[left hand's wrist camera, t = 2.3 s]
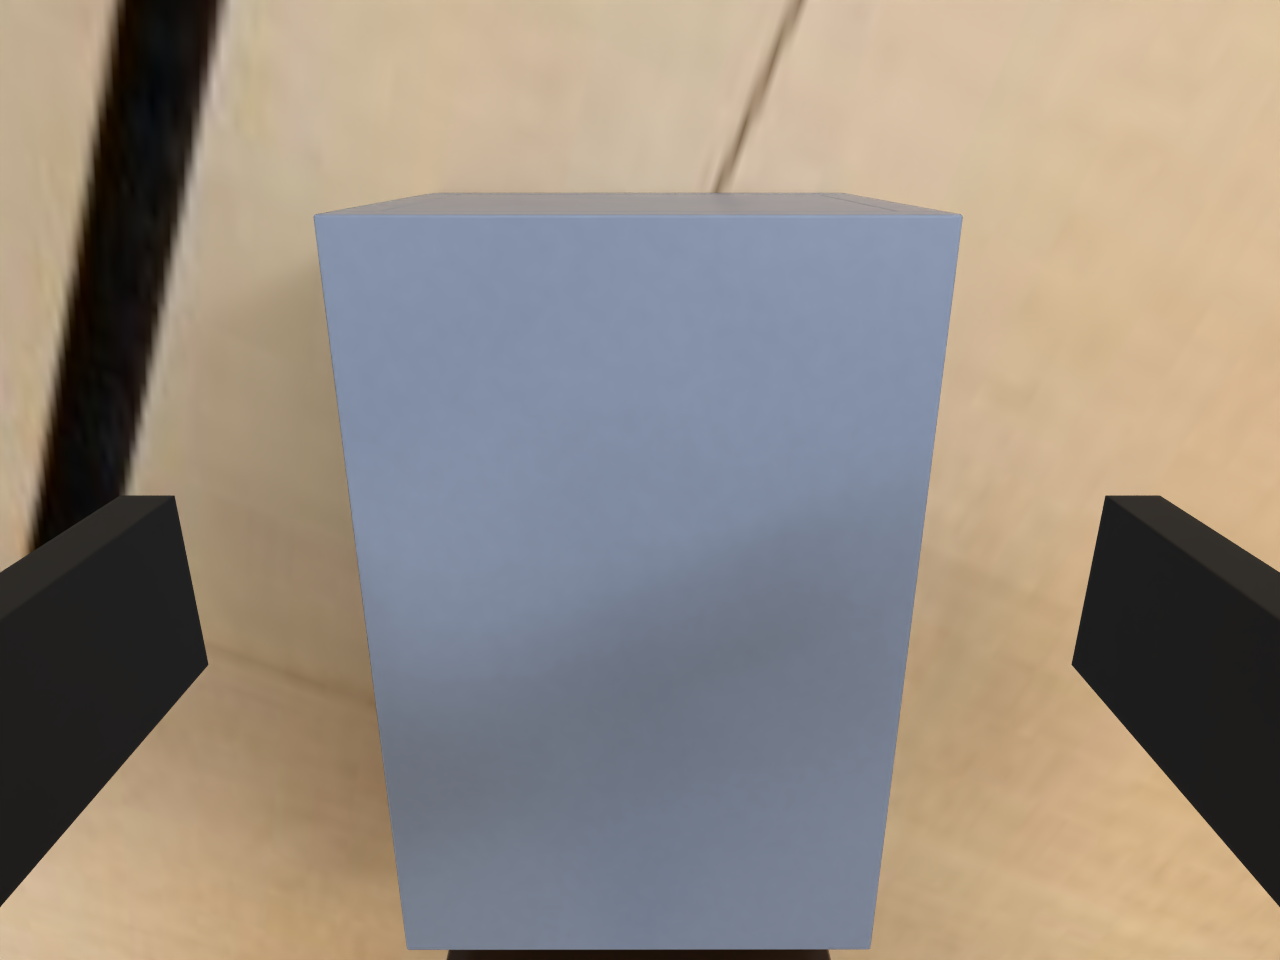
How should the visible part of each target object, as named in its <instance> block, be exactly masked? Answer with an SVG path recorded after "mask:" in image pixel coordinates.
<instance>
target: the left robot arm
mask: <svg viewBox="0 0 1280 960" xmlns="http://www.w3.org/2000/svg"><path fill="white" fill-rule="evenodd" d="M207 666H208V660H207V655H206V650H205V645H204V640H203V635H202V631H201V626H200V621H199V616H198V611H197V606H196V601H195V596H194V591H193V586H192V581H191V576H190V571H189V566H188V561H187V556H186V551H185V546H184V541H183V536H182V531H181V526H180V521H179V516H178V511H177V506H176V501H175V496H119V497H117V498H116V499H114V500H113V501H111V502H109V503H108V504H106V505H105V506H103V507H102V508H100V509H99V510H97V511H95V512H94V513H92V514H91V515H89V516H88V517H86V518H85V519H83V520H81V521H80V522H78V523H77V524H75V525H74V526H72V527H70V528H69V529H67V530H66V531H64V532H63V533H61V534H60V535H58V536H56V537H55V538H53V539H52V540H50V541H49V542H47V543H46V544H44V545H42V546H41V547H39V548H38V549H36V550H35V551H33V552H32V553H30V554H28V555H27V556H25V557H24V558H22V559H21V560H19V561H17V562H16V563H14V564H13V565H11V566H10V567H8V568H7V569H5V570H3V571H2V572H0V907H1V905H2V904H3V903H4V902H5V901H6V900H7V898H8V897H9V896H10V895H11V894H12V893H13V892H14V890H15V889H16V888H17V887H18V886H19V885H20V883H21V882H22V881H23V880H24V879H25V878H26V876H27V875H28V874H29V873H30V872H31V871H32V869H33V868H34V867H35V866H36V865H37V864H38V862H39V861H40V860H41V859H42V858H43V857H44V855H45V854H46V853H47V852H48V851H49V850H50V848H51V847H52V846H53V845H54V844H55V843H56V841H57V840H58V839H59V838H60V837H61V836H62V834H63V833H64V832H65V831H66V830H67V829H68V827H69V826H70V825H71V824H72V823H73V822H74V820H75V819H76V818H77V817H78V816H79V815H80V813H81V812H82V811H83V810H84V809H85V808H86V807H87V805H88V804H89V803H90V802H91V801H92V800H93V798H94V797H95V796H96V795H97V794H98V793H99V791H100V790H101V789H102V788H103V787H104V786H105V784H106V783H107V782H108V781H109V780H110V779H111V777H112V776H113V775H114V774H115V773H116V772H117V770H118V769H119V768H120V767H121V766H122V765H123V763H124V762H125V761H126V760H127V759H128V758H129V756H130V755H131V754H132V753H133V752H134V751H135V749H136V748H137V747H138V746H139V745H140V744H141V742H142V741H143V740H144V739H145V738H146V737H147V735H148V734H149V733H150V732H151V731H152V730H153V729H154V727H155V726H156V725H157V724H158V723H159V722H160V720H161V719H162V718H163V717H164V716H165V715H166V713H167V712H168V711H169V710H170V709H171V708H172V706H173V705H174V704H175V703H176V702H177V701H178V699H179V698H180V697H181V696H182V695H183V694H184V692H185V691H186V690H187V689H188V688H189V687H190V685H191V684H192V683H193V682H194V681H195V680H196V678H197V677H198V676H199V675H200V674H201V673H202V671H203V670H204V669H205V668H206V667H207ZM1072 666H1073V667H1074V668H1075V669H1076V670H1077V671H1078V673H1079V674H1080V675H1081V676H1082V677H1083V678H1084V680H1085V681H1086V682H1087V683H1088V684H1089V685H1090V687H1091V688H1092V689H1093V690H1094V691H1095V692H1096V694H1097V695H1098V696H1099V697H1100V698H1101V699H1102V701H1103V702H1104V703H1105V704H1106V705H1107V706H1108V708H1109V709H1110V710H1111V711H1112V712H1113V713H1114V715H1115V716H1116V717H1117V718H1118V719H1119V720H1120V722H1121V723H1122V724H1123V725H1124V726H1125V727H1126V729H1127V730H1128V731H1129V732H1130V733H1131V734H1132V735H1133V737H1134V738H1135V739H1136V740H1137V741H1138V742H1139V744H1140V745H1141V746H1142V747H1143V748H1144V749H1145V751H1146V752H1147V753H1148V754H1149V755H1150V756H1151V758H1152V759H1153V760H1154V761H1155V762H1156V763H1157V765H1158V766H1159V767H1160V768H1161V769H1162V770H1163V772H1164V773H1165V774H1166V775H1167V776H1168V777H1169V779H1170V780H1171V781H1172V782H1173V783H1174V784H1175V786H1176V787H1177V788H1178V789H1179V790H1180V791H1181V793H1182V794H1183V795H1184V796H1185V797H1186V798H1187V800H1188V801H1189V802H1190V803H1191V804H1192V805H1193V807H1194V808H1195V809H1196V810H1197V811H1198V812H1199V813H1200V815H1201V816H1202V817H1203V818H1204V819H1205V820H1206V822H1207V823H1208V824H1209V825H1210V826H1211V827H1212V829H1213V830H1214V831H1215V832H1216V833H1217V834H1218V836H1219V837H1220V838H1221V839H1222V840H1223V841H1224V843H1225V844H1226V845H1227V846H1228V847H1229V848H1230V850H1231V851H1232V852H1233V853H1234V854H1235V855H1236V857H1237V858H1238V859H1239V860H1240V861H1241V862H1242V864H1243V865H1244V866H1245V867H1246V868H1247V869H1248V871H1249V872H1250V873H1251V874H1252V875H1253V876H1254V878H1255V879H1256V880H1257V881H1258V882H1259V883H1260V885H1261V886H1262V887H1263V888H1264V889H1265V890H1266V891H1267V893H1268V894H1269V895H1270V896H1271V897H1272V898H1273V900H1274V901H1275V902H1276V903H1277V904H1278V905H1279V907H1280V572H1278V571H1277V570H1275V569H1273V568H1272V567H1270V566H1269V565H1267V564H1266V563H1264V562H1263V561H1261V560H1259V559H1258V558H1256V557H1255V556H1253V555H1252V554H1250V553H1248V552H1247V551H1245V550H1244V549H1242V548H1241V547H1239V546H1238V545H1236V544H1234V543H1233V542H1231V541H1230V540H1228V539H1227V538H1225V537H1224V536H1222V535H1220V534H1219V533H1217V532H1216V531H1214V530H1213V529H1211V528H1210V527H1208V526H1206V525H1205V524H1203V523H1202V522H1200V521H1199V520H1197V519H1195V518H1194V517H1192V516H1191V515H1189V514H1188V513H1186V512H1185V511H1183V510H1181V509H1180V508H1178V507H1177V506H1175V505H1174V504H1172V503H1171V502H1169V501H1167V500H1166V499H1164V498H1163V497H1161V496H1105V501H1104V506H1103V511H1102V516H1101V521H1100V526H1099V531H1098V536H1097V541H1096V546H1095V551H1094V556H1093V561H1092V566H1091V571H1090V576H1089V581H1088V586H1087V591H1086V596H1085V601H1084V606H1083V611H1082V616H1081V621H1080V626H1079V631H1078V635H1077V640H1076V645H1075V650H1074V655H1073V660H1072Z"/></svg>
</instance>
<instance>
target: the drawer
mask: <svg viewBox="0 0 1280 960" xmlns="http://www.w3.org/2000/svg"><path fill="white" fill-rule="evenodd" d="M447 960H831V959H830V954H829V950H828V949H646V950H449V952H448V956H447Z"/></svg>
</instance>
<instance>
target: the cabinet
mask: <svg viewBox="0 0 1280 960" xmlns="http://www.w3.org/2000/svg"><path fill="white" fill-rule="evenodd" d="M962 218H963V217H962V215H960V214H956V213H950V212H943V211H939V210H933V209H928V208H922V207H917V206H911V205H906V204H900V203H895V202H889V201H884V200H878V199H873V198H867V197H862V196H856V195H851V194H845V193H432V194H425V195H420V196H414V197H409V198H403V199H398V200H392V201H387V202H381V203H375V204H370V205H364V206H359V207H353V208H348V209H342V210H337V211H332V212H326V213H320V214H316V215H314V224H315V232H316V239H317V247H318V255H319V263H320V271H321V279H322V286H323V294H324V302H325V310H326V318H327V326H328V334H329V341H330V349H331V357H332V365H333V373H334V381H335V388H336V396H337V404H338V412H339V420H340V428H341V435H342V443H343V451H344V459H345V467H346V475H347V482H348V490H349V498H350V506H351V514H352V522H353V529H354V537H355V545H356V553H357V561H358V569H359V576H360V584H361V592H362V600H363V608H364V616H365V624H366V631H367V639H368V647H369V655H370V663H371V671H372V678H373V686H374V694H375V702H376V710H377V718H378V725H379V733H380V741H381V749H382V757H383V765H384V772H385V780H386V788H387V796H388V804H389V812H390V819H391V827H392V835H393V843H394V851H395V859H396V866H397V874H398V882H399V890H400V898H401V906H402V914H403V921H404V929H405V937H406V945H407V949H408V950H646V949H870V945H871V937H872V930H873V922H874V914H875V906H876V898H877V890H878V882H879V874H880V866H881V858H882V851H883V843H884V835H885V827H886V819H887V811H888V803H889V795H890V787H891V779H892V772H893V764H894V756H895V748H896V740H897V732H898V724H899V716H900V708H901V700H902V693H903V685H904V677H905V669H906V661H907V653H908V645H909V637H910V629H911V621H912V613H913V606H914V598H915V590H916V582H917V574H918V566H919V558H920V550H921V542H922V534H923V527H924V519H925V511H926V503H927V495H928V487H929V479H930V471H931V463H932V455H933V448H934V440H935V432H936V424H937V416H938V408H939V400H940V392H941V384H942V376H943V369H944V361H945V353H946V345H947V337H948V329H949V321H950V313H951V305H952V297H953V289H954V282H955V274H956V266H957V258H958V250H959V242H960V234H961V226H962Z"/></svg>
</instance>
